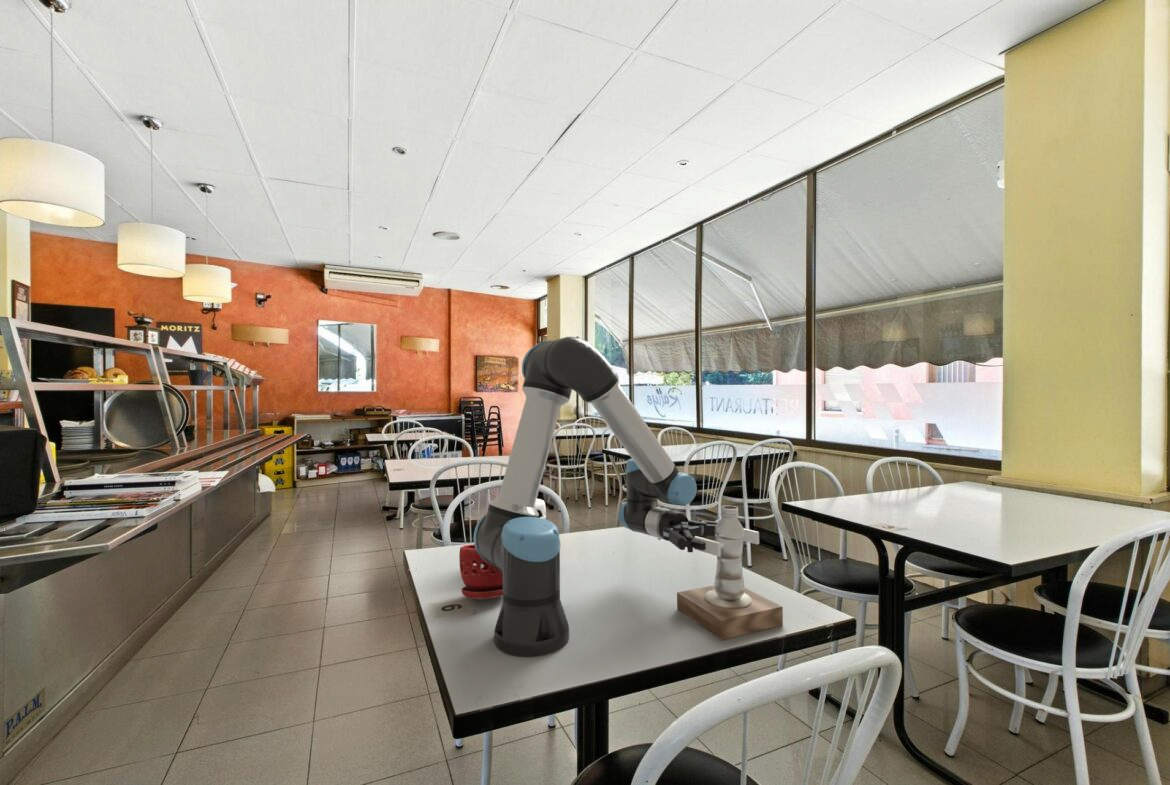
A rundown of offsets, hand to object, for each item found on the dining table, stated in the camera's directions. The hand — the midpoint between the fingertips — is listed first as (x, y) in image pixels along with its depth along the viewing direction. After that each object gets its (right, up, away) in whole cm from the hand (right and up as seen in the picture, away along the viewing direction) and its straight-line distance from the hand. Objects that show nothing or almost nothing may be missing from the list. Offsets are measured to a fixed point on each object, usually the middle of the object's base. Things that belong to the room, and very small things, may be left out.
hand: (739, 543), depth 110 cm
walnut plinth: (-2, -17, +2) cm, 17 cm away
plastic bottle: (-2, -13, +2) cm, 13 cm away
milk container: (-53, -18, +41) cm, 69 cm away
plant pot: (-57, -17, +14) cm, 62 cm away
